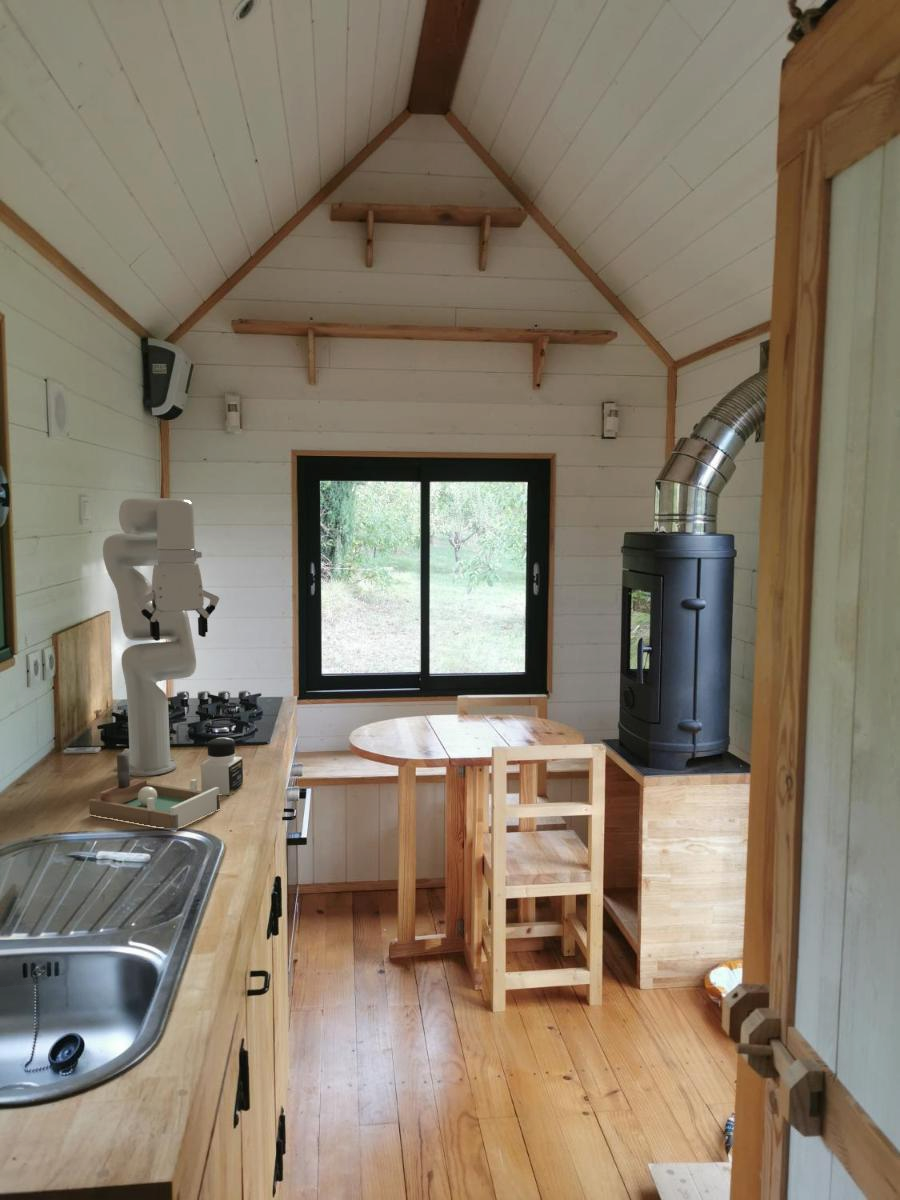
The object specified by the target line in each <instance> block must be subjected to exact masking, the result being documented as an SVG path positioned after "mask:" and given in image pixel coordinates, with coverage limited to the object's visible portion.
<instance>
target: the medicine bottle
mask: <svg viewBox="0 0 900 1200" xmlns="http://www.w3.org/2000/svg"><path fill="white" fill-rule="evenodd" d="M243 765H244V764H243V757H242V756H236V747H235V740H234V739H233V738H230V737H216V738H213V739H211V740H209V741H208V742H207V759H206V760H205V761H204V762H202V763H201V764H200V785H201V787H200V788H201V790H200V791H202V792H206V791H208V790H210V789H212V788H214V787H219V794H222V795H221V796H226V795H230V796H231V795H233V794H234V793H236V792H238V790H240V789H241V788H243V786H244V772H243V771H244V769H243V768H244V766H243ZM239 788H240V789H239ZM235 791H236V792H235ZM232 793H233V794H232Z"/></svg>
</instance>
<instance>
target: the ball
mask: <svg viewBox="0 0 900 1200" xmlns="http://www.w3.org/2000/svg"><path fill="white" fill-rule="evenodd" d="M150 797H152V798H154V802H155V801H156V799H157V792H156V790H155V789H154V788H152V787H144V788H142V789H141V790H140V791H139V793H138V801H139V802H140V803H141V804H142V805H145V806H147V799H148V798H150Z"/></svg>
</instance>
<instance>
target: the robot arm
mask: <svg viewBox="0 0 900 1200" xmlns="http://www.w3.org/2000/svg"><path fill="white" fill-rule="evenodd" d="M194 515H195V514H194V505H193V503H192V502H191V500H189V499H183V498H166V497H165V498H163V497H161V498H160V497H158V498H155V497H153V498H152V497H151V498H150V497H149V498H145V497H141V498H139V497H138V498H126V499H123V500H122V502H121V504H120V506H119V510H118V521H119V524H120V527H121V530H122V533H121V532H120V533H115V534H111V535H109V536H108V537H106V539H105V540H104V542H103V544H102V555H103V556H102V557H103V563H104V566H105V568H106V571H107V574H108V576H109V578H110V580H111V581H112V584H113V585H114V588H115V591H116V594H117V600H118V608H119V613H120V619H121V626H122V630H123V633H124V635H125V637H126V638H127V639H128V640H131V641H134V642H135V641H136V642H142V641H145V642H146V641H155V642H146V643H139V644H133V645H130V646H129V647H127V648H126V649H124V651H123V652H122V655H121V659H120V660H121V669H122V673H123V678H124V682H125V683H124V684H125V689H126V702H127V703H126V704H127V721H128V727H127V728H128V745H129V748H124V749H123V750H122V752H120V754H122V753H127V754H129V775H130V776H134V777H147V776H149V777H151V776H157V775H162V774H166V773H169V772H172V771H174V770H175V769H176V768H177V767H178V761H177V760H176V759H174V758H171V744H170V721H169V718H170V717H169V700H168V696H167V694H166V693H165V692H164V690H162V688H160V687H159V686H158V685H157V682H163V681H171V680H179V679H180V680H181V679H187V678H190V677H191V676H193V675H194V673H195V672H196V670H197V657H196V651H195V645H194V640H193V635H192V629H191V624H190V623H191V622H190V618H189V614H188V612H190V611H195V612H196V613H197V614H199V617H197V626H198V627H197V631H198V636H200V637H203V638H206V637H207V635H206V634H207V633H208V631H209V630H208V624H209V623H208V619H209V618H210V615H211V614H213V612H214V611H215V610H216V607H217V605H218V603H219V601H220V597H219V596H218V595H216V594H213V593H211V592H209V591H207V590H204V588H203V587H204V586H203V580H202V575H201V569H200V565H199V563H196V562H197V559H201V558H203V557H202V556H203V554H202V551H198V550H196V549H197V548H196V547H195V545H196V544H195V543H196V542H195V522H194V521H195V519H194ZM151 566H153V567H152V569H153V571H152V576H151V577H152V578H151V582H150V580H148V578H147V577H146V576H145V575H143V574H142V573H141V572H140V571H139V570H137V569H135V567H151ZM205 598H206V599H209V604H208V605H207V606H206V607H205V608H204V603H205V600H204V599H205ZM161 640H169V641H161ZM156 641H157V642H156ZM159 641H161V642H159Z"/></svg>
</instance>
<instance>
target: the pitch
mask: <svg viewBox="0 0 900 1200" xmlns="http://www.w3.org/2000/svg"><path fill="white" fill-rule="evenodd" d="M189 784H190V785H189V786H190V788H188V789H187V788H182V787H175V786H169V785H165V784H157V783H152V782H151V783H150V782H147V787H152V788H154V789H155V790H156V792H157V799H156V801H155V802H154V798H152V797H150V798H148V799H147V806H145V805H142V804H141V803H140V802H139V801H138V797H137V798H135V799H133V800H130V801H128V802H125V803H123V804H119V803H114V802H108V801H102V800H101V799H95V798H91V799H88V809H89V810H88V811H89V814H88V815H90V814H91V815H96V816H101V817H107V818H113V819H118V820H123V821H129V822H134V823H139V824H144V825H150V826H156V827H164V828H178V827H181V826H184V825H186V824H188V823H190V822H192V821H194V820H196V819H198V818H200V817H202V816H205V815H207V814H209V813H211V812H214V811H216V810H218V809H220V810H221V801H220V800H221V799H220V798H221V797H220V796H221V795H219V787H214V788H212V789H210V790H208V791H206V792H202V790H198V779H194V778H193V779H190V780H189Z"/></svg>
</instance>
